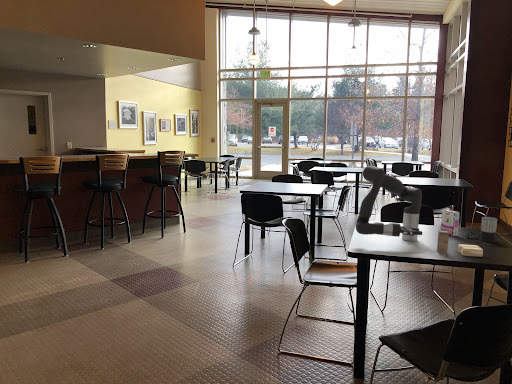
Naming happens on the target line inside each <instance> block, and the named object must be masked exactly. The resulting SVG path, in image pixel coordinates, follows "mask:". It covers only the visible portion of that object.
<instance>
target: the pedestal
mask: <svg viewBox="0 0 512 384" xmlns="http://www.w3.org/2000/svg"><path fill="white" fill-rule="evenodd" d="M457 251H458V253H460V254H461V255H462V256H466V257H481V258H483V256H484V255H483V253H484V249H483V248H481V247H480V246H479V245H477V244H476V245H475V244H463V243H462V244H461V243H460V244H459V243H458V245H457Z"/></svg>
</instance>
